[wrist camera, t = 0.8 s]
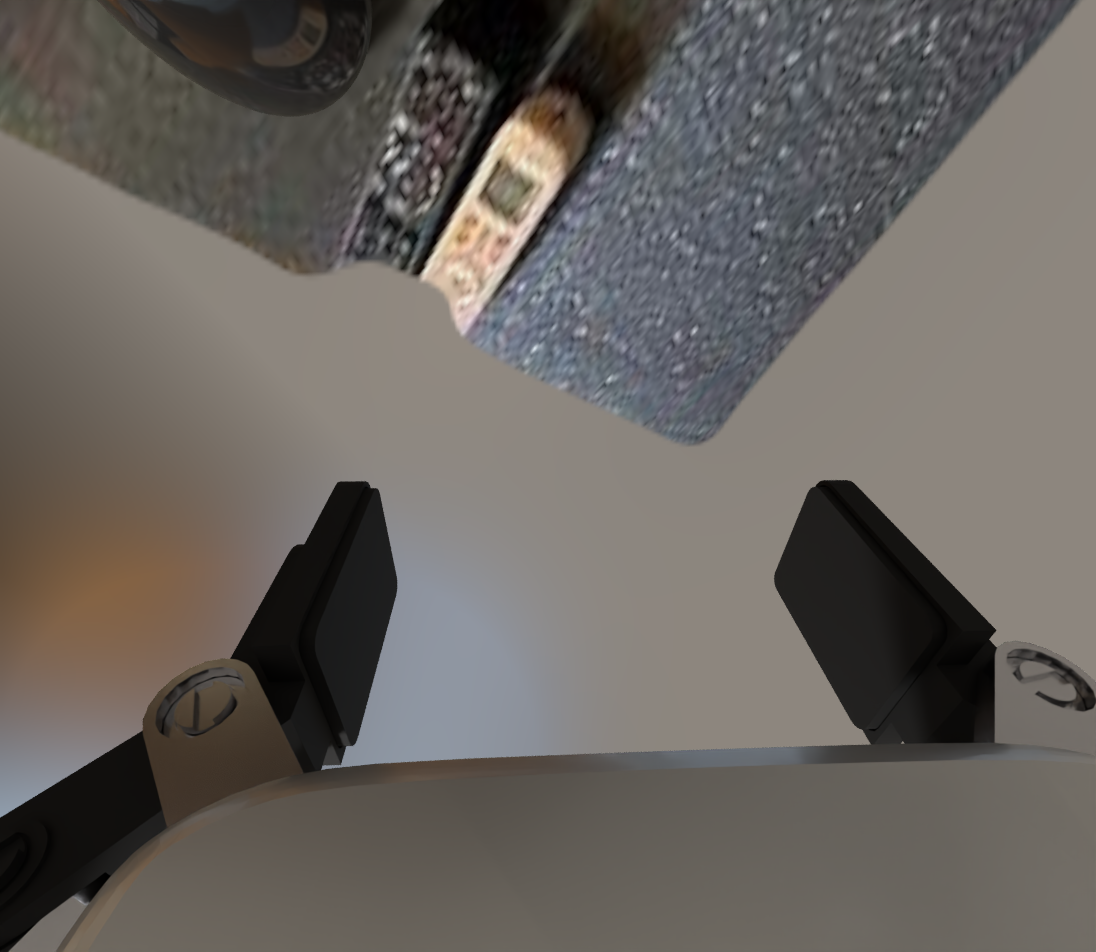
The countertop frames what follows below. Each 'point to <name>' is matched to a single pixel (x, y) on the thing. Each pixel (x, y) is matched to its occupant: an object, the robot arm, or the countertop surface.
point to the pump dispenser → (257, 47)
